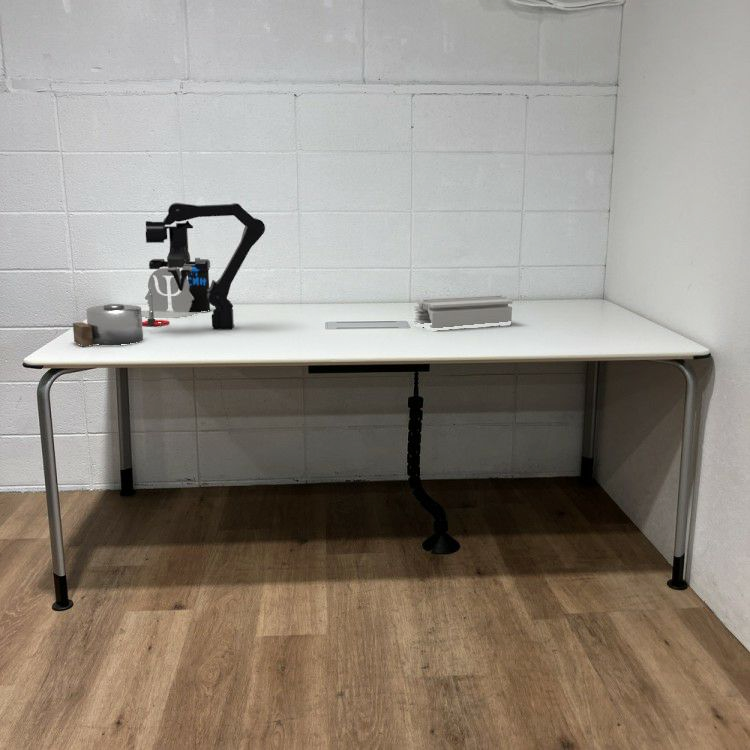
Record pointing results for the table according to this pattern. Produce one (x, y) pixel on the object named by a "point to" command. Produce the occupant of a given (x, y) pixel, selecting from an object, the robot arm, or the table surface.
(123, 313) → the cylinder
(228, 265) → the robot arm
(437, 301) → the aluminum extrusion profile
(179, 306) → the ornament
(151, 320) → the tow hook
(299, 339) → the table surface
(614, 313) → the table surface
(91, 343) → the walnut block
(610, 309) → the table surface
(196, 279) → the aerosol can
